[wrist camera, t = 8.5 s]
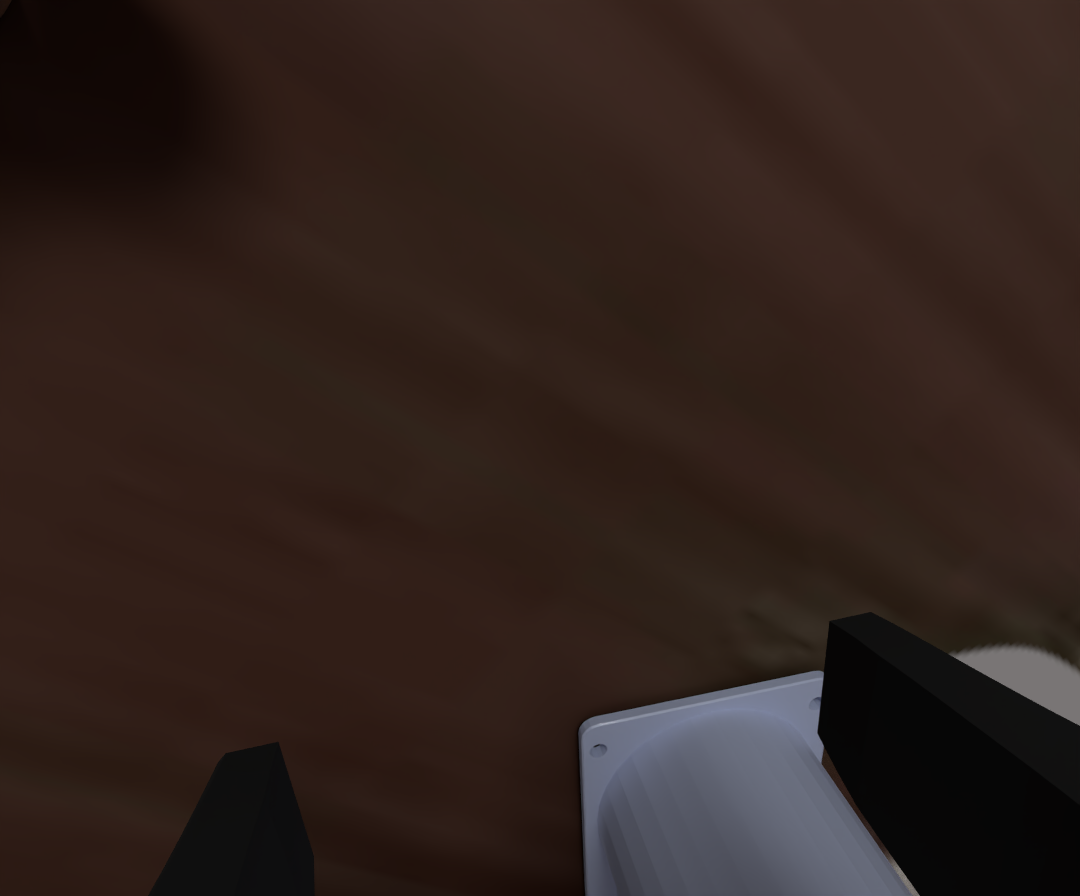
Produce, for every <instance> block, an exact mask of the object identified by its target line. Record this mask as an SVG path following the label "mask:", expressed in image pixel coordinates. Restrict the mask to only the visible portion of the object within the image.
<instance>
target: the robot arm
mask: <svg viewBox="0 0 1080 896" xmlns="http://www.w3.org/2000/svg"><path fill="white" fill-rule="evenodd" d="M578 736H579V760H580V784H581V809H582V833H583V857H584V882H585V896H912V894H911V893H910V892H909V890H908V889H907V887H906V886H905V884H904V883H903V881H902V880H901V879H900V877H899V876H898V874H897V873H896V871H895V870H894V868H893V867H892V866H891V864H890V863H889V861H888V860H887V858H886V857H885V855H884V854H883V853H882V851H881V850H880V848H879V847H878V845H877V844H876V842H875V841H874V840H873V838H872V837H871V835H870V834H869V832H868V831H867V829H866V828H865V827H864V825H863V824H862V822H861V821H860V819H859V818H858V816H857V815H856V814H855V812H854V811H853V809H852V808H851V806H850V805H849V803H848V802H847V801H846V799H845V798H844V796H843V795H842V793H841V792H840V790H839V789H838V788H837V786H836V785H835V783H834V782H833V780H832V779H831V777H830V776H829V775H828V773H827V772H826V770H825V769H824V767H823V766H822V764H821V761H822V754H823V748H824V747H825V749H826V751H827V753H828V755H829V757H830V759H831V760H832V762H833V764H834V766H835V768H836V770H837V772H838V774H839V775H840V777H841V779H842V781H843V783H844V784H845V786H846V788H847V790H848V791H849V793H850V795H851V797H852V798H853V800H854V802H855V804H856V805H857V807H858V808H859V810H860V811H861V813H862V814H863V816H864V817H865V819H866V820H867V821H868V823H869V824H870V826H871V827H872V829H873V830H874V831H875V833H876V834H877V836H878V837H879V839H880V840H881V841H882V843H883V844H884V846H885V847H886V849H887V850H888V851H889V853H890V854H891V856H892V857H893V859H894V860H895V861H896V863H897V864H898V866H899V867H900V868H901V870H902V871H903V873H904V874H905V875H906V877H907V878H908V880H909V881H910V882H911V884H912V885H913V887H914V888H915V889H916V891H917V892H918V894H919V895H920V896H1080V726H1079V725H1077V724H1075V723H1073V722H1071V721H1069V720H1067V719H1066V718H1064V717H1062V716H1060V715H1058V714H1056V713H1054V712H1052V711H1050V710H1048V709H1046V708H1045V707H1043V706H1041V705H1039V704H1037V703H1035V702H1033V701H1032V700H1030V699H1028V698H1026V697H1024V696H1022V695H1021V694H1019V693H1017V692H1015V691H1013V690H1011V689H1010V688H1008V687H1006V686H1004V685H1002V684H1001V683H999V682H997V681H995V680H993V679H992V678H990V677H988V676H986V675H984V674H982V673H981V672H979V671H977V670H975V669H974V668H972V667H970V666H968V665H966V664H965V663H963V662H961V661H959V660H958V659H956V658H954V657H952V656H950V655H949V654H947V653H945V652H943V651H942V650H940V649H938V648H936V647H934V646H933V645H931V644H929V643H927V642H926V641H924V640H922V639H920V638H918V637H917V636H915V635H913V634H911V633H909V632H908V631H906V630H904V629H902V628H900V627H898V626H897V625H895V624H893V623H891V622H889V621H887V620H885V619H883V618H881V617H879V616H878V615H876V614H874V613H872V612H869V613H864V614H860V615H855V616H851V617H846V618H842V619H837V620H832V621H830V622H829V631H828V640H827V649H826V658H825V667H824V672H821V671H812V672H807V673H802V674H798V675H793V676H788V677H783V678H778V679H774V680H769V681H764V682H759V683H754V684H749V685H745V686H740V687H735V688H730V689H725V690H721V691H716V692H711V693H706V694H701V695H697V696H692V697H687V698H682V699H677V700H672V701H668V702H663V703H658V704H653V705H648V706H644V707H639V708H634V709H629V710H624V711H620V712H615V713H610V714H605V715H600V716H595V717H592V718H589V719H588V720H586V721H585V722H583V723H582V725H581V726H580V728H579V732H578ZM598 744H600V745H599V746H597V747H593V746H595V745H598ZM148 896H315V893H314V855H313V852H312V849H311V846H310V843H309V839H308V836H307V833H306V830H305V826H304V823H303V820H302V817H301V814H300V810H299V807H298V804H297V801H296V797H295V794H294V791H293V788H292V784H291V781H290V778H289V775H288V772H287V768H286V765H285V762H284V759H283V755H282V752H281V749H280V746H279V743H278V742H276V743H271V744H266V745H262V746H257V747H253V748H248V749H244V750H239V751H234V752H230V753H226V754H225V755H224V756H223V757H222V758H221V760H220V761H219V762H218V764H217V766H216V768H215V770H214V772H213V774H212V776H211V778H210V780H209V782H208V784H207V786H206V788H205V790H204V792H203V794H202V796H201V798H200V800H199V802H198V804H197V806H196V808H195V810H194V812H193V814H192V816H191V818H190V820H189V822H188V823H187V825H186V827H185V829H184V831H183V833H182V835H181V837H180V839H179V841H178V842H177V844H176V846H175V848H174V850H173V852H172V854H171V856H170V857H169V859H168V861H167V863H166V865H165V867H164V869H163V870H162V872H161V874H160V876H159V878H158V879H157V881H156V883H155V885H154V886H153V888H152V890H151V892H150V894H149V895H148Z"/></svg>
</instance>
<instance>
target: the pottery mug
mask: <svg viewBox="0 0 1080 896" xmlns="http://www.w3.org/2000/svg"><path fill="white" fill-rule="evenodd" d="M11 1H12V0H0V18H1V16H2V15H3V14H4V13H5V11H6V10H7V8H8V6H9V4H10V2H11Z"/></svg>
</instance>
